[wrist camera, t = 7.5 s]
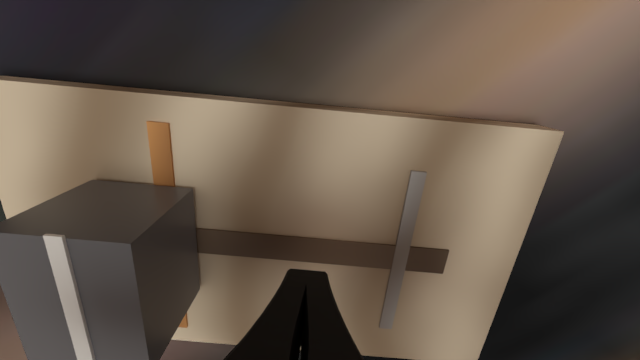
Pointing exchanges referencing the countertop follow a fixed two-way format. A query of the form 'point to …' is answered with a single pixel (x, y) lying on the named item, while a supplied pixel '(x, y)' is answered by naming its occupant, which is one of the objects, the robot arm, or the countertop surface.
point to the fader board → (302, 201)
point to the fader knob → (101, 271)
